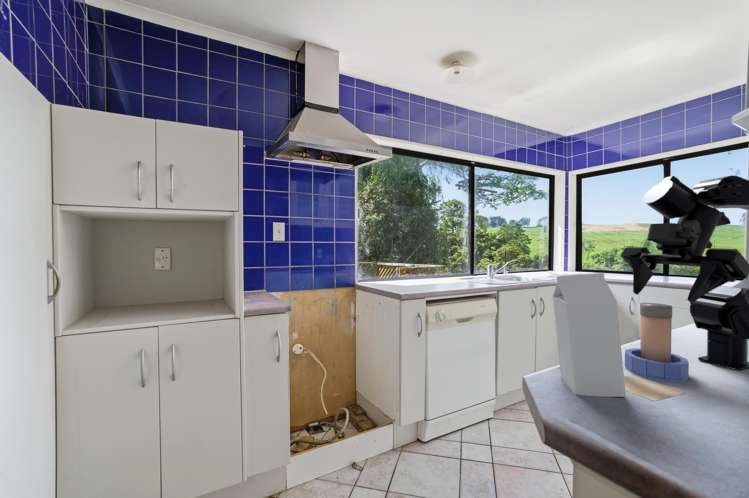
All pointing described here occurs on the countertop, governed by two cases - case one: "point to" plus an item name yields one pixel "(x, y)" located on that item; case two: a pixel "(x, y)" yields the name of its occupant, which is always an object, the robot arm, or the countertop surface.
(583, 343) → the milk carton
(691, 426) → the countertop surface
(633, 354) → the bowl
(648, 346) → the spice jar
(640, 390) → the cork mat
